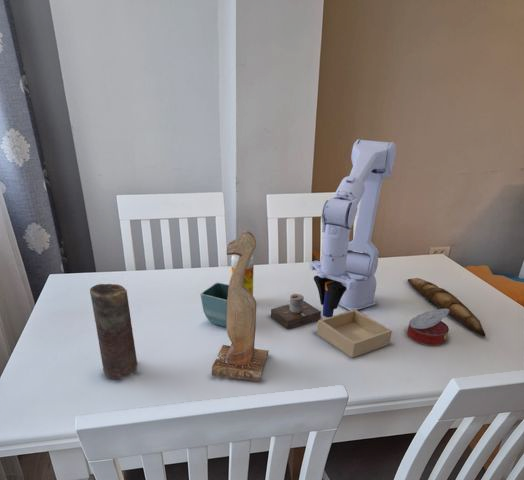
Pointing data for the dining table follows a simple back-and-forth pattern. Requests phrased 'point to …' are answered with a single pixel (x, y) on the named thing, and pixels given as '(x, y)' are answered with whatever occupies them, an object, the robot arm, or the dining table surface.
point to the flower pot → (216, 303)
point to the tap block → (295, 315)
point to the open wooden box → (354, 333)
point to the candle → (114, 330)
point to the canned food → (429, 327)
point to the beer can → (249, 272)
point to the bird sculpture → (240, 320)
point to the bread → (448, 304)
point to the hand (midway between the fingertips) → (328, 306)
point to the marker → (326, 300)
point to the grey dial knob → (296, 303)
